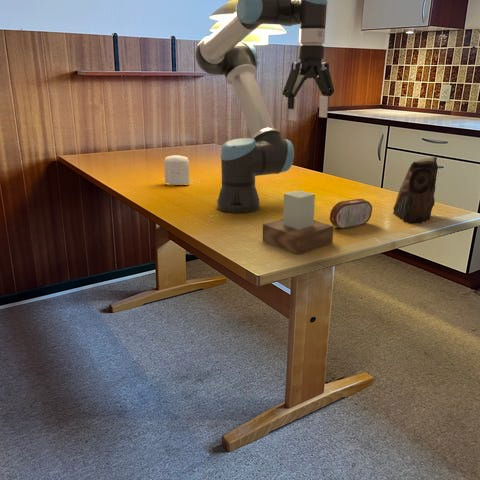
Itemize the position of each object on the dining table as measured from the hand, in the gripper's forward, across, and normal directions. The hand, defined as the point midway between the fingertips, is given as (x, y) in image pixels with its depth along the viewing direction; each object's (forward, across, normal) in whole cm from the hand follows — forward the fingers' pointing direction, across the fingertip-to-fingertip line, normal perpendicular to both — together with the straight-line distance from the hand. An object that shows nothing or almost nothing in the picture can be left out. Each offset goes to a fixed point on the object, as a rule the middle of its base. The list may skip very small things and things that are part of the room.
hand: (308, 118), depth 151 cm
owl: (+32, +27, -23) cm, 48 cm away
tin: (+32, +4, -17) cm, 36 cm away
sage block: (+26, -19, -16) cm, 37 cm away
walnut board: (+31, -19, -16) cm, 40 cm away
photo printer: (+32, -9, +64) cm, 72 cm away
